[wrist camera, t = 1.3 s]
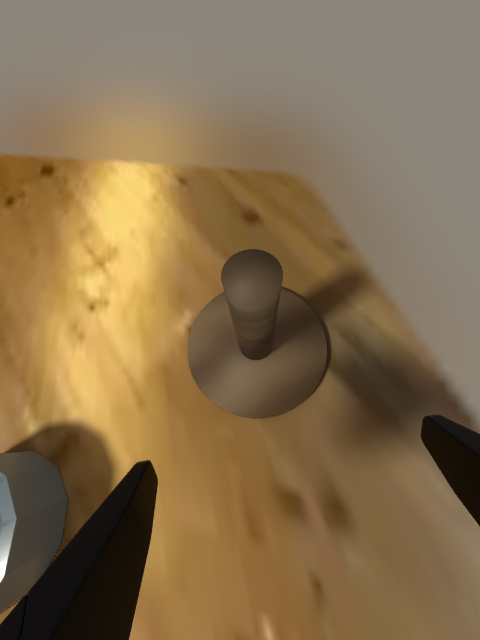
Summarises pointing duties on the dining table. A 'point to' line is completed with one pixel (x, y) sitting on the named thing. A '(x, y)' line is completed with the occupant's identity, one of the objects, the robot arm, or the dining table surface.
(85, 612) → the robot arm
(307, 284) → the dining table surface
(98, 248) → the dining table surface
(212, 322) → the brown peg on base
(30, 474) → the bowl
